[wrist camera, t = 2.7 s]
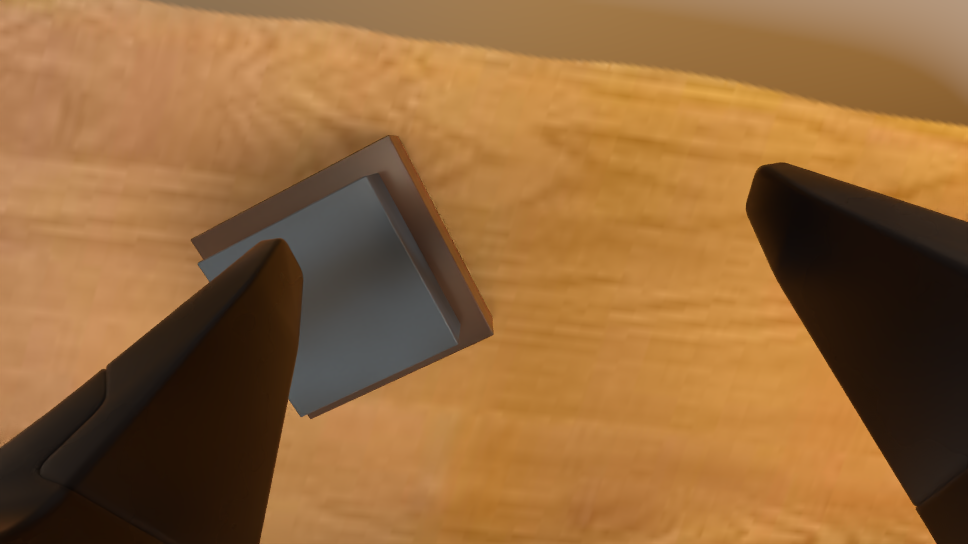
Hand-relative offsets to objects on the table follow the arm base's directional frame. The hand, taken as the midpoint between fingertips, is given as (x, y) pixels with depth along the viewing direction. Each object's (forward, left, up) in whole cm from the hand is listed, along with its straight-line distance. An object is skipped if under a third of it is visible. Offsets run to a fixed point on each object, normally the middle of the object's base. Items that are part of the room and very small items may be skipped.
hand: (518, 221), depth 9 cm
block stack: (-4, +8, -16) cm, 18 cm away
